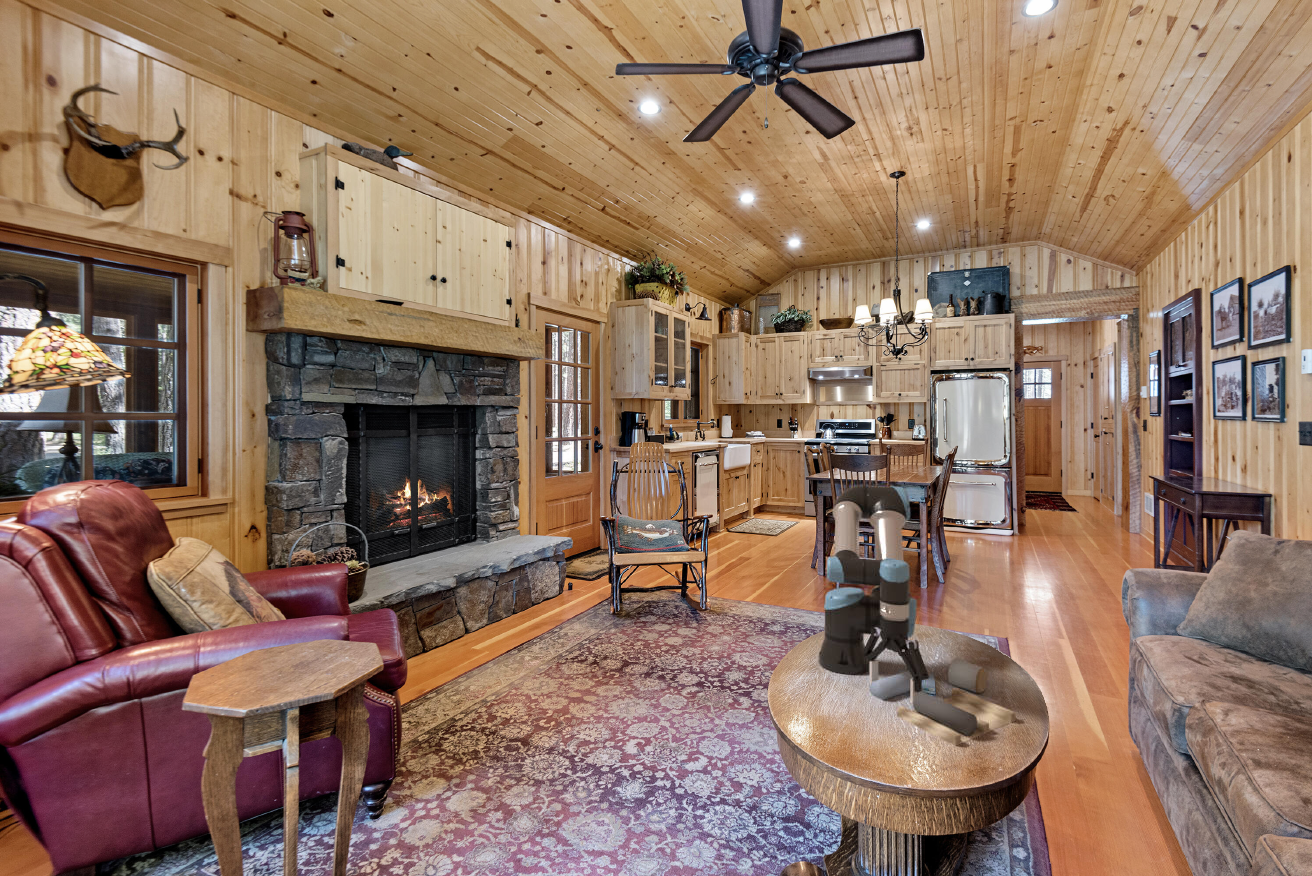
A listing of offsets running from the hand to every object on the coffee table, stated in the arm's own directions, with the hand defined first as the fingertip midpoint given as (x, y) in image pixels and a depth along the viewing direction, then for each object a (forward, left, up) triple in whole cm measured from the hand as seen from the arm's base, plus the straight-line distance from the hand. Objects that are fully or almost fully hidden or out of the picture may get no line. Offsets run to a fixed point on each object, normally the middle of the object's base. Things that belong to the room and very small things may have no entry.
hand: (893, 693), depth 165 cm
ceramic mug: (+8, +22, -1) cm, 23 cm away
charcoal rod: (+18, -6, +2) cm, 19 cm away
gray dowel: (0, 0, 0) cm, 0 cm away
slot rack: (+18, +1, 0) cm, 18 cm away
